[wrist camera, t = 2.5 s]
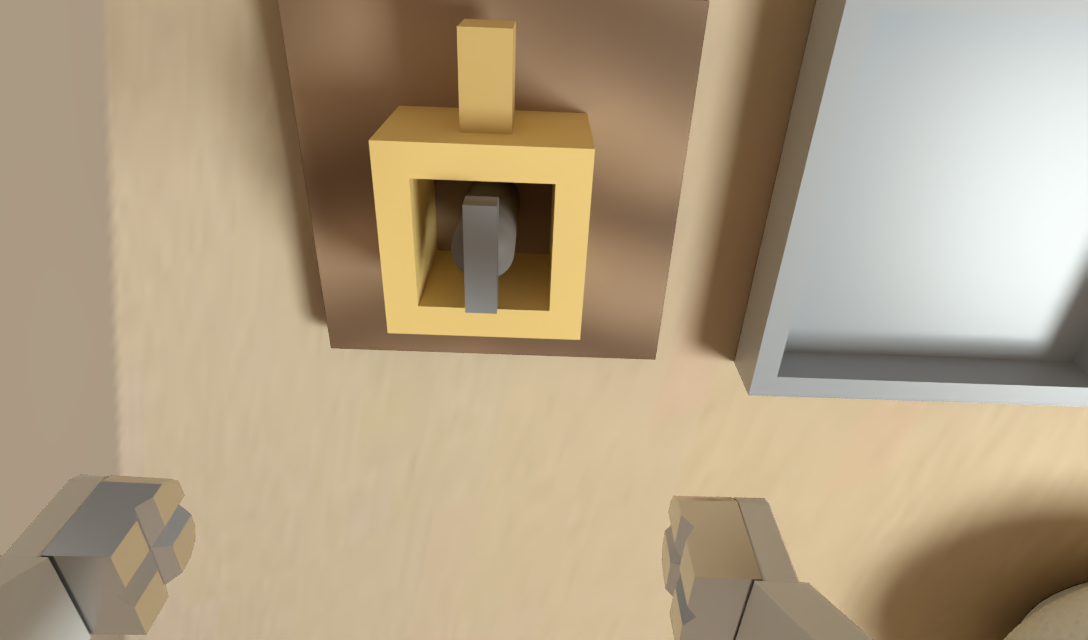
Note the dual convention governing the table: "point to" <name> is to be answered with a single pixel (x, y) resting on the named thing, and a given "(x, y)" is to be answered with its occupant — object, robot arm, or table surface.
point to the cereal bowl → (1056, 617)
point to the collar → (482, 155)
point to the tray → (929, 209)
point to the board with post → (500, 207)
